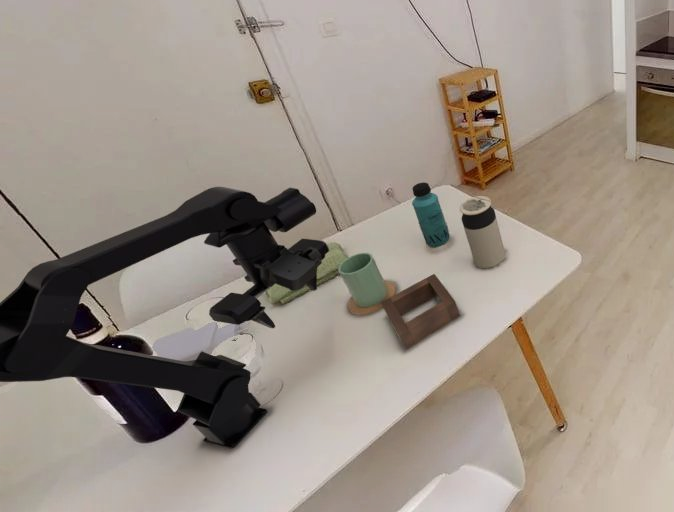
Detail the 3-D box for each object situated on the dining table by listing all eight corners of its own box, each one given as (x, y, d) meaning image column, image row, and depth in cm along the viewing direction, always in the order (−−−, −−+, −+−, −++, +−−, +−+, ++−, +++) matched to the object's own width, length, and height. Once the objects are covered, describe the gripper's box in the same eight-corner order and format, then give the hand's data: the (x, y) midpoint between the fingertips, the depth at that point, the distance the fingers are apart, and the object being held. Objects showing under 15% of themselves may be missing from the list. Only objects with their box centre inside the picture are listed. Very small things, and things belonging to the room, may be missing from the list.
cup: (385, 302, 97) (369, 269, 92) (353, 311, 95) (334, 277, 90) (390, 282, 103) (375, 249, 97) (359, 289, 101) (342, 257, 96)
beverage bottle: (422, 249, 114) (399, 191, 104) (438, 234, 119) (419, 177, 109) (441, 254, 112) (420, 194, 102) (457, 238, 117) (439, 180, 108)
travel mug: (488, 273, 105) (472, 218, 97) (468, 261, 109) (451, 208, 100) (511, 254, 111) (498, 200, 102) (491, 244, 115) (477, 191, 106)
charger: (251, 347, 88) (155, 386, 81) (257, 318, 95) (169, 351, 88) (240, 333, 86) (140, 372, 79) (247, 304, 93) (156, 337, 86)
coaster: (376, 317, 94) (375, 316, 94) (338, 312, 96) (338, 310, 96) (404, 284, 103) (404, 283, 102) (370, 280, 104) (369, 278, 104)
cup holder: (405, 350, 87) (398, 334, 84) (387, 317, 94) (380, 302, 92) (460, 315, 94) (455, 301, 92) (439, 287, 101) (434, 273, 99)
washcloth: (262, 283, 104) (256, 274, 103) (340, 246, 116) (335, 237, 114) (275, 310, 97) (268, 301, 95) (356, 267, 108) (352, 258, 107)
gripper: (240, 294, 64) (285, 356, 72) (336, 220, 80) (364, 277, 88) (183, 286, 66) (233, 347, 74) (288, 215, 82) (320, 271, 90)
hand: (294, 307), depth 81 cm, fingers open, 9 cm apart
